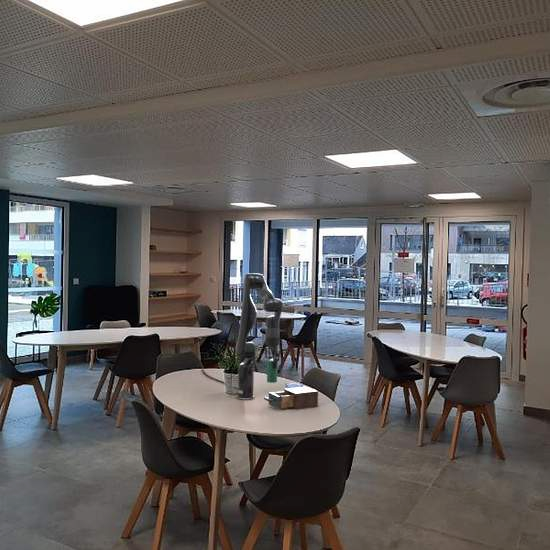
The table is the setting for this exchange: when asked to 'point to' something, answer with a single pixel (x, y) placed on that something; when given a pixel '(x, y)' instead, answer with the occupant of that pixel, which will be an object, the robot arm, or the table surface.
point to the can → (271, 372)
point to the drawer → (280, 399)
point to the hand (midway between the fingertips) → (272, 367)
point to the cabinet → (304, 397)
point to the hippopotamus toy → (293, 385)
